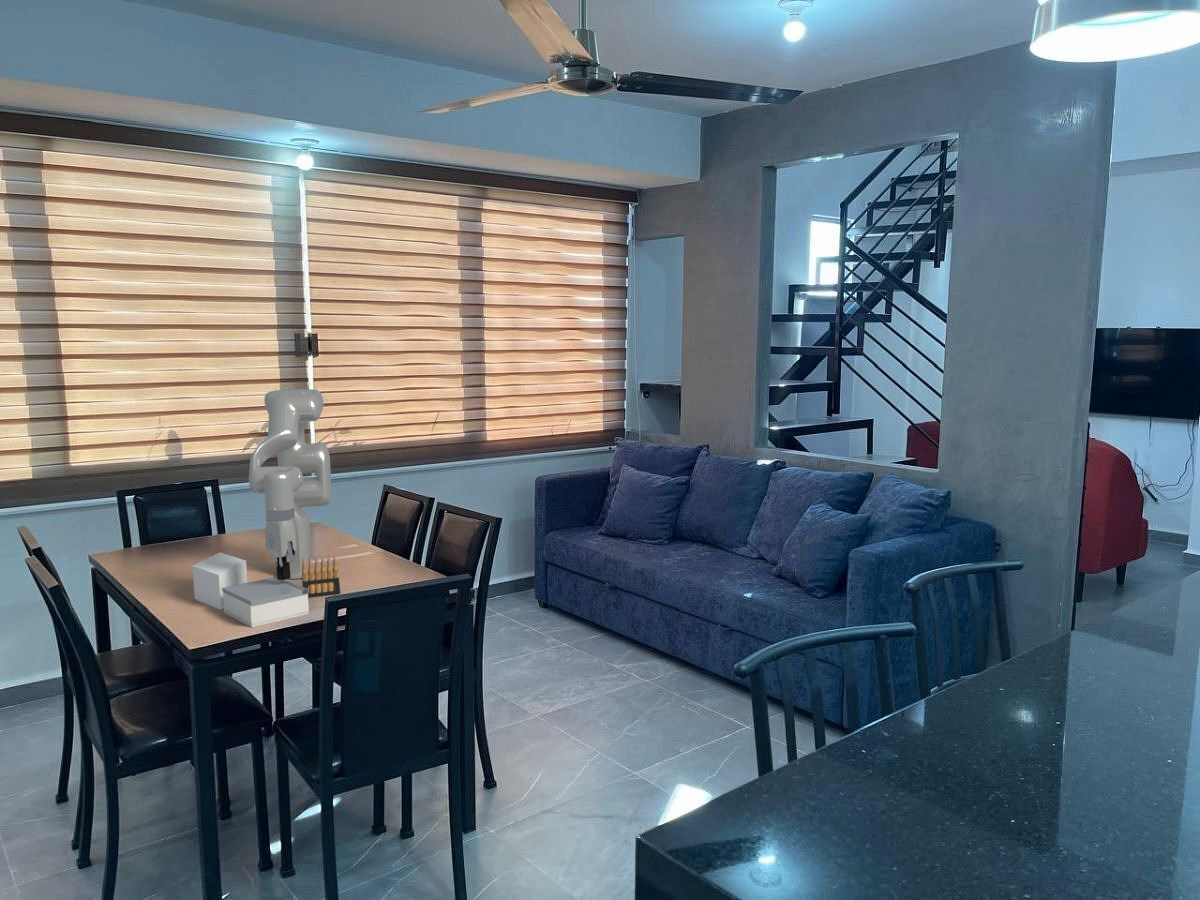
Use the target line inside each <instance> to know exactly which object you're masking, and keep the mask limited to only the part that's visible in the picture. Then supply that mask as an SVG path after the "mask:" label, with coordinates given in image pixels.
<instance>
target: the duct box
mask: <svg viewBox="0 0 1200 900" xmlns="http://www.w3.org/2000/svg"><path fill="white" fill-rule="evenodd" d="M223 601H224V608H223V614H226V615H227V616H229V617H231V618H233V619H235V620H237V621H239V622H241V623H242V624H245V625H247V626H248V627H251V628H254V627H259V626H262V625H268V624H271V623H276V622H279V621H284V620H288V619H292V618H296V617H301V616H305V615H309V614H310V610H309V608H310V607H309V598H308V593H306V594H301V595H296V596H292V597H287V598H283V599H278V600H273V601H269V602H264V603H260V604H255V605H250V604H248V603H246V602H243V601H241V600H239V599H237V598H235V597H233V596H231V595H229V594H227V593H225V592H223Z"/></svg>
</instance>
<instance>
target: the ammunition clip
mask: <svg viewBox="0 0 1200 900" xmlns="http://www.w3.org/2000/svg"><path fill="white" fill-rule="evenodd" d="M320 560H321V561H320V562H319V557H318V556H315V558H314V564H313V558H312V559H311V557H310V558H309V570H308V572H307V566H306V560H305V558H303V562H302V578H301V581H302V583H301V584H302V587H304V588H307V589H309V593H308V599H310V598H311V599H313V598H319V597H326V596H336V595H340V594H341V587H340V586H341V585H340V574H339V564H338V557H337V555H336V554H334V555H333V560H332V559H331V556H330V554H329V555H328V556H327V560H325V556H324V555H322V556H321V559H320ZM332 561H333V562H332ZM332 563H333V564H332ZM326 564H327V565H326ZM313 567H315V575H314V570H313Z"/></svg>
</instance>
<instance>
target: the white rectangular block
mask: <svg viewBox="0 0 1200 900" xmlns="http://www.w3.org/2000/svg"><path fill="white" fill-rule="evenodd" d="M191 568H192V578H193V591H194V593H193V595H194V600H195V599H196V601H199V602H200V603H203V604H205V605H208V606H210V607H213V608H215V609H217V610H220V611H222V610H224V601H223V591H222V588H223V587H228V586H233V585H238V584H243V583H248V572H247V561H246V560H245V559H242V558H239V557H236V556H233V555H229V554H226V553H223V552H218V553H216V554H214V555H212V556H210V557H208V558H205V559H204V560H201V561H199V562H197V563H196V564H194V565H192V567H191Z"/></svg>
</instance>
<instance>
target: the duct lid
mask: <svg viewBox="0 0 1200 900" xmlns="http://www.w3.org/2000/svg"><path fill="white" fill-rule="evenodd" d="M222 591H223V592H225V593H227V594H229V595H231V596H233V597H235V598H237V599H239V600H241V601H243V602H246V603H248V604H250V605H255V604H260V603H264V602H269V601H273V600H278V599H283V598H287V597H292V596H296V595H301V594H306V593H309V589H307V588H304V587H302V586H301V585H299V584H297V583H294V582H292V581H289V580H288V579H285V580H279V579H277V576H274V577H270V578H269V577H268V578H265V579H260V580H255V581H254V580H253V581H249V582H248V581H247V583H243V584H238V585H233V586H228V587H223V588H222Z"/></svg>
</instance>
